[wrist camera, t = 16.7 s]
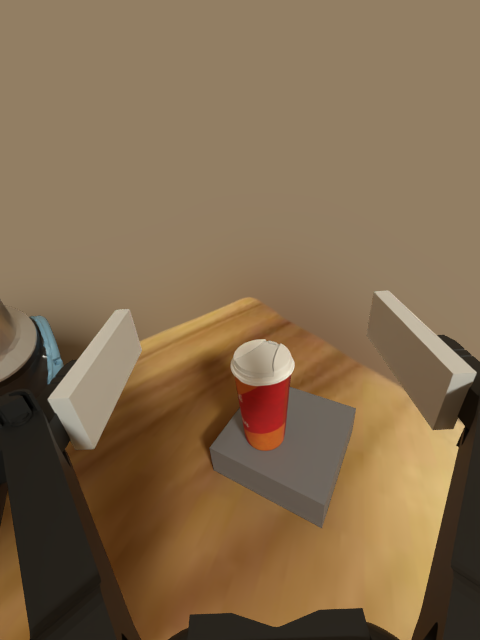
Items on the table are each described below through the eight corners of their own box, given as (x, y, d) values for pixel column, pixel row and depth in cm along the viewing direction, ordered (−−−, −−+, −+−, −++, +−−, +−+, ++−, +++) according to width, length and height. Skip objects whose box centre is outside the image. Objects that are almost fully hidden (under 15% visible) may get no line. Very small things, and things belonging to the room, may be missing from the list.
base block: (213, 470, 43) (209, 447, 41) (262, 398, 55) (261, 377, 52) (321, 528, 36) (324, 505, 33) (352, 430, 47) (355, 408, 45)
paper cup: (253, 406, 46) (249, 331, 40) (300, 424, 43) (304, 345, 36) (227, 444, 41) (216, 365, 34) (278, 468, 37) (277, 385, 30)
